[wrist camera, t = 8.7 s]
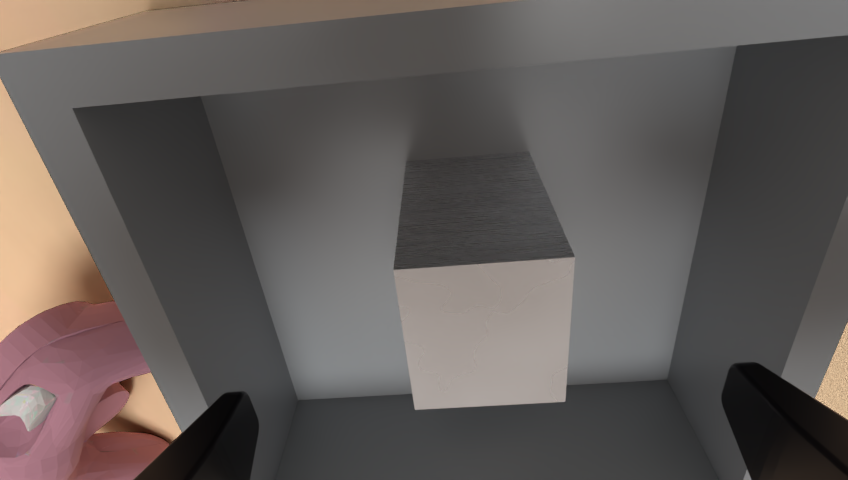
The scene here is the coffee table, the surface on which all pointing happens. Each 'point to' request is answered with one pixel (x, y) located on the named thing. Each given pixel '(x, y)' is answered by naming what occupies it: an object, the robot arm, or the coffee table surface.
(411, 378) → the grey stepped block
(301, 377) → the open box
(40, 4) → the coffee table surface
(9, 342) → the video game controller
